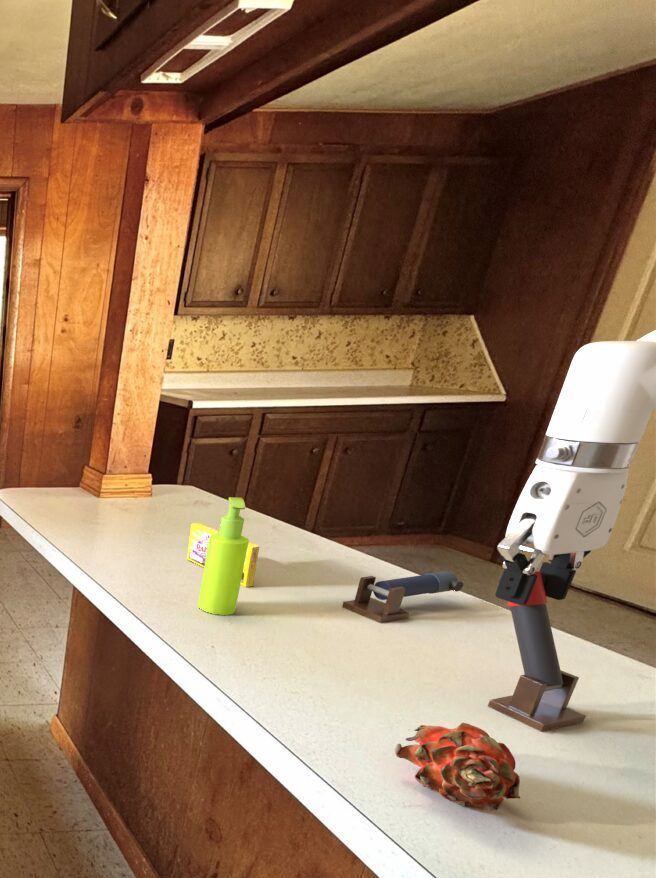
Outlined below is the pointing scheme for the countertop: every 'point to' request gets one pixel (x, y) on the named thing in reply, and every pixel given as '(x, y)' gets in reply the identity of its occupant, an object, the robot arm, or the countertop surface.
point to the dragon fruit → (463, 765)
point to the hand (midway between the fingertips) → (529, 597)
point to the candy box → (200, 546)
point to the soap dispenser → (224, 563)
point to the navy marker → (418, 584)
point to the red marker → (537, 637)
